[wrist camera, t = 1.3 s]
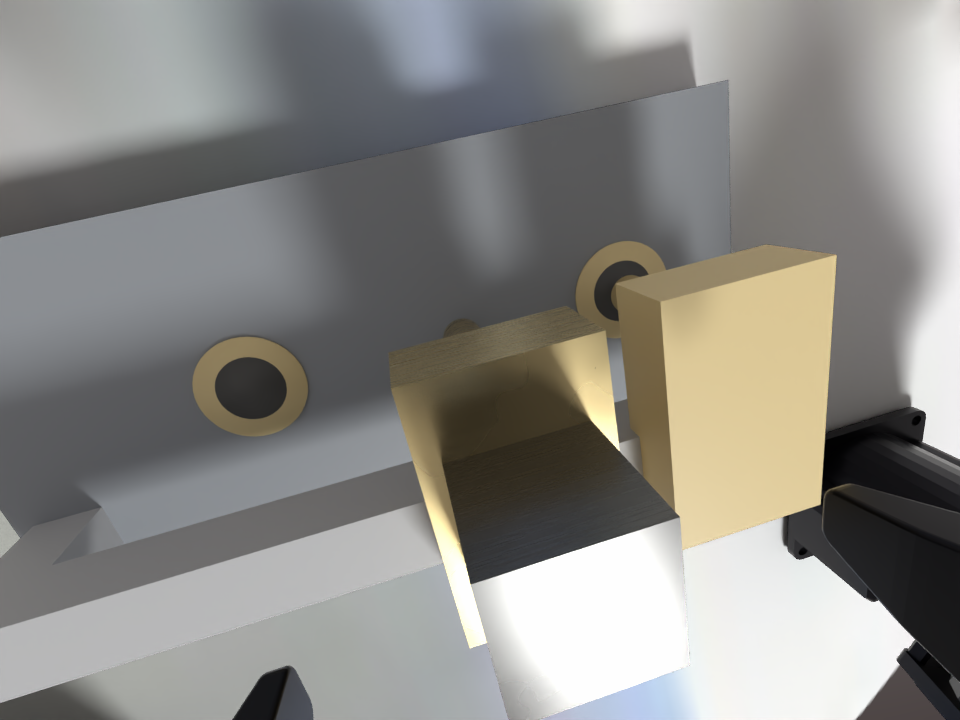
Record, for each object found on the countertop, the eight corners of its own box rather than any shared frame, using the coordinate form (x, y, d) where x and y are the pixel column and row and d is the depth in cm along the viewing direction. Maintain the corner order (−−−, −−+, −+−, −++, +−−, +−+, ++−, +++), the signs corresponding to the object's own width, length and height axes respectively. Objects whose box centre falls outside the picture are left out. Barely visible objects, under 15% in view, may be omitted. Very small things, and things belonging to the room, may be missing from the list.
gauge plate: (697, 89, 16) (946, 12, 9) (709, 410, 20) (882, 527, 13) (-110, 264, 13) (-650, 349, 6) (105, 590, 18) (-73, 853, 11)
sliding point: (515, 274, 15) (709, 395, 6) (548, 455, 17) (721, 724, 8) (385, 307, 14) (397, 487, 6) (437, 488, 17) (501, 806, 8)
